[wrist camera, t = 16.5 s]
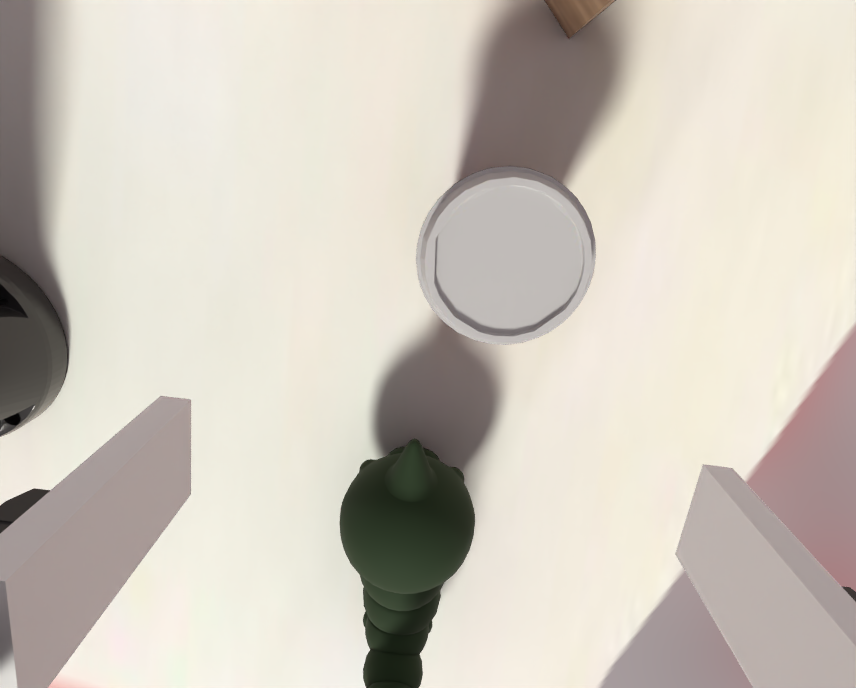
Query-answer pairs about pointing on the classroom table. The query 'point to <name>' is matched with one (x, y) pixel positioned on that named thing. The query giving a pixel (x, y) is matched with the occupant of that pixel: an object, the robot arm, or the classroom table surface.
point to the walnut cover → (576, 12)
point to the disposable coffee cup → (506, 255)
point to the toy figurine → (404, 553)
